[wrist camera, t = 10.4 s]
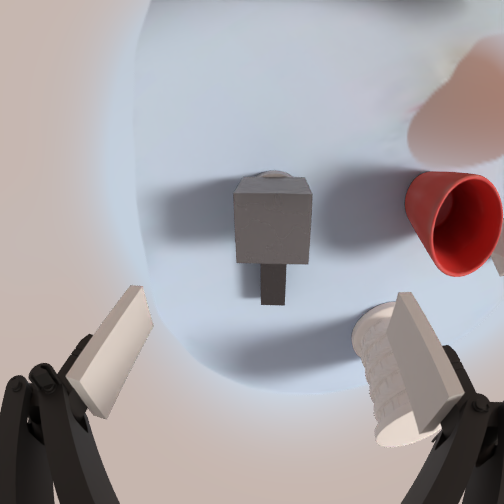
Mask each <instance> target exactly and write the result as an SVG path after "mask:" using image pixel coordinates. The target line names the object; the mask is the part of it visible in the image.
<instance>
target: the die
mask: <svg viewBox="0 0 504 504" xmlns="http://www.w3.org/2000/svg"><path fill="white" fill-rule="evenodd" d="M490 256H491V258H492V260H493V262H494V265H495V267H496V269H497V271H498V273H499V275H500V276H504V218H503V223H502V229H501V234H500V237H499V240H498V242H497V245H496V247H495V249H494V251H493V252H492V254H491V255H490Z"/></svg>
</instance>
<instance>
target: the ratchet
mask: <svg viewBox="0 0 504 504" xmlns="http://www.w3.org/2000/svg"><path fill="white" fill-rule="evenodd" d="M256 177H293V176H291V175H290V174H288V173H285V172H282V171H276V170H273V171H266V172H263V173H261V174H259V175H257V176H256ZM285 285H286V264H262V263H261V305H285Z"/></svg>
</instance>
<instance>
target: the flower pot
mask: <svg viewBox="0 0 504 504" xmlns="http://www.w3.org/2000/svg"><path fill="white" fill-rule="evenodd" d="M405 210H406V214H407V217H408V219H409V221H410V222H411V224H412V226H413V228H414V230H415V231H416V233H417V235H418V237H419V238H420V240H421V242H422V243H423V245H424V247H425V248H426V250H427V252H428V254H429V255H430V257H431V259H432V260H433V262H434V263H435V265H436V266H437V268H438V269H439V270H440V271H441V272H443V273H444V274H446V275H449V276H453V277H460V276H465V275H468V274H470V273H472V272H474V271H475V270H477V269H478V268H480V267H481V266H482V265H483V264H484V263H485V262H486V261H487V259H488V258H489V257H490V255H491V254H492V252H493V251H494V249H495V247H496V245H497V242H498V240H499V237H500V234H501V229H502V223H503V209H502V203H501V199H500V196H499V194H498V192H497V190H496V188H495V187H494V185H493V184H492V183H491V182H490V181H489V180H488V179H486V178H485V177H483V176H481V175H476V174H469V173H457V172H425V173H423V174H421V175H419V176H418V177H416V178H415V179H414V180H413V182H412V183H411V185H410V187H409V188H408V190H407V193H406V198H405Z"/></svg>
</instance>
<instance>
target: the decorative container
mask: <svg viewBox="0 0 504 504" xmlns="http://www.w3.org/2000/svg"><path fill="white" fill-rule="evenodd" d="M395 303H396V301H395V302H387V303H384V304H380V305H378V306H376V307H374V308H372V309H371V310H369V311H368V312H367V313H365V314H364V315H363V316H362V317H361V318H360V319H359V321H358V322H357V323H356V325H355V327H354V329H353V332H352V336H351V338H352V345H353V349H354V351H355V352H356V354H357V355H358V356H359V357H361V360H362V363H363V366H364V367H365V374H366V375H365V376H366V379H367V382H368V383H369V385H370V386H369V387H370V390H369V391H370V393H369V394H370V397H371V399H372V401H373V403H374V414H375V415H374V416H375V418H376V420H377V421H378V424H377V426H376V428H375V438H376V442H377V444H378V445H381V446H383V447H399V446H404V445H408V444H411V443H414V442H417V441H419V440H422V439H424V438H426V437H428V436H430V435H432V434H434V433H435V432H437V431H438V430H440V429H441V428H442V427H441V424H439V425H438V427H437V428H436V429H435V430H434V431H430V432H427V433H422V434H419V431H418V428H417V424H416V421H415V417H414V414H413V410H412V407H411V404H410V400H409V397H408V394H407V391H406V388H405V385H404V382H403V379H402V376H401V373H400V370H399V367H398V364H397V362H396V359H395V356H394V353H393V351H392V348H391V345H390V343H389V340H388V337H387V335H386V331H387V328H388V325H389V322H390V319H391V316H392V313H393V310H394V306H395Z"/></svg>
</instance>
